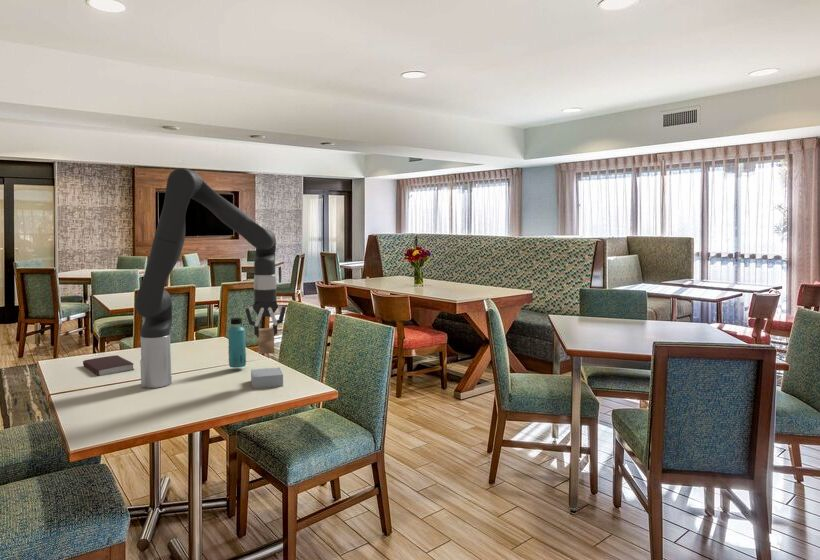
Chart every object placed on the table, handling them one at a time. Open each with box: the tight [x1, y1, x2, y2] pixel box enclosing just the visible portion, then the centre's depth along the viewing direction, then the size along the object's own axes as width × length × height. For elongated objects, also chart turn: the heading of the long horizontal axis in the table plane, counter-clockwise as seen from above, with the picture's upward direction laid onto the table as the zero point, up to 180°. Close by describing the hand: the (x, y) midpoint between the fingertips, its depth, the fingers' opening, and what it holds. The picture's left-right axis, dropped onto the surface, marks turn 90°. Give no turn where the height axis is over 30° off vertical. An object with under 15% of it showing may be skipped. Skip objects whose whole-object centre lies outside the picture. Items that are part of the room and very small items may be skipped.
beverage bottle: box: [227, 317, 247, 369], centre depth 206 cm, size 6×7×20 cm
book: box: [82, 355, 135, 377], centre depth 207 cm, size 12×19×3 cm, turn 45°
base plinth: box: [250, 367, 284, 389], centre depth 190 cm, size 10×10×4 cm
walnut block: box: [257, 327, 275, 355], centre depth 188 cm, size 5×5×8 cm
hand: (266, 335), depth 188 cm, fingers closed on walnut block, 5 cm apart
